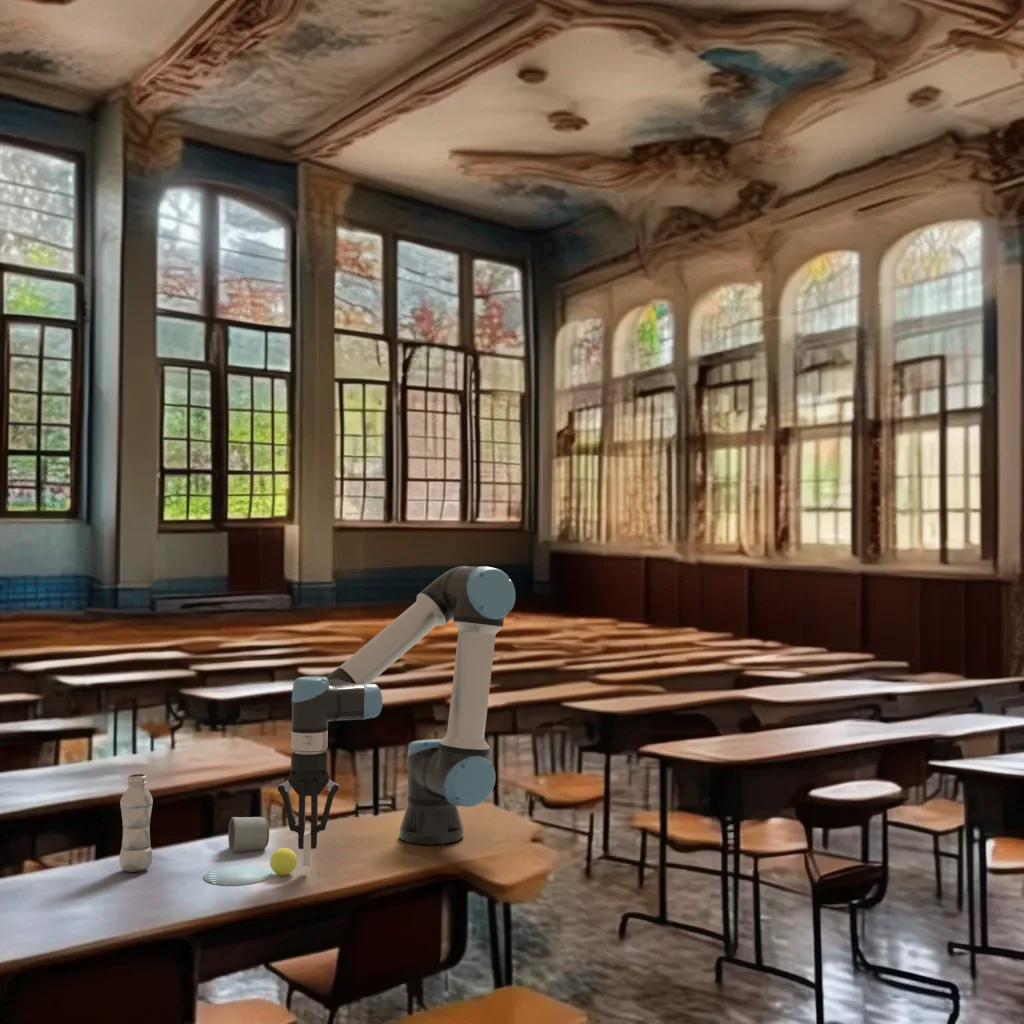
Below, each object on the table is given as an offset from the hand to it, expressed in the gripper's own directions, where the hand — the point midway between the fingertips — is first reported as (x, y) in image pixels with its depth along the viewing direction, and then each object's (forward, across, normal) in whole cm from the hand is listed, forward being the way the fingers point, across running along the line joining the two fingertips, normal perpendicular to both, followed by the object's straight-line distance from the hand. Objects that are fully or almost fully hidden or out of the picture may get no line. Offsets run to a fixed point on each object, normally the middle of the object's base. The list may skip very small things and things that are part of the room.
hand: (307, 864), depth 233 cm
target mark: (+2, -14, 0) cm, 14 cm away
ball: (-1, -5, 0) cm, 5 cm away
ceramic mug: (+2, -15, +21) cm, 26 cm away
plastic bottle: (+3, -36, +5) cm, 37 cm away
